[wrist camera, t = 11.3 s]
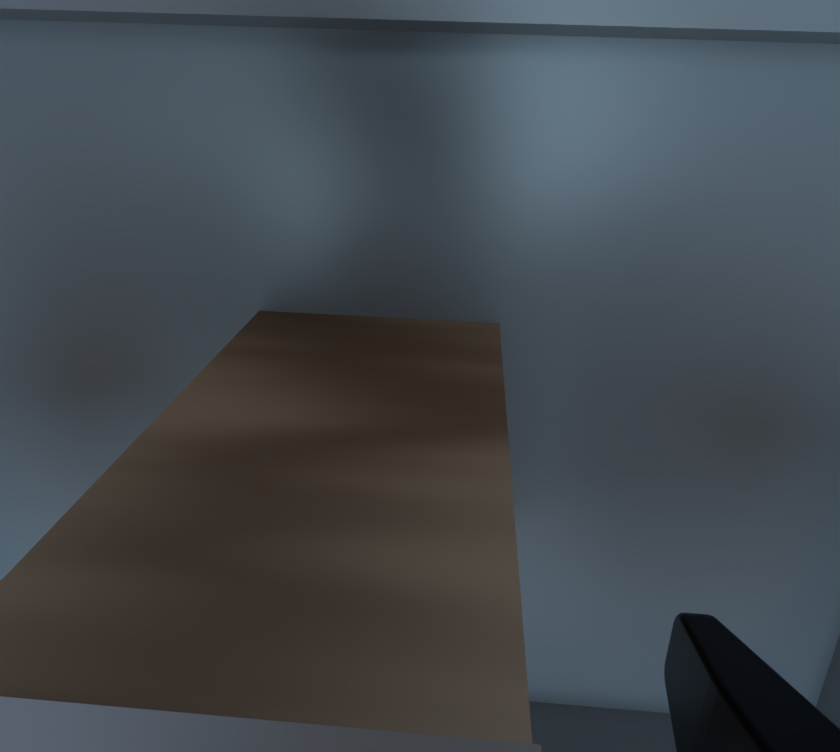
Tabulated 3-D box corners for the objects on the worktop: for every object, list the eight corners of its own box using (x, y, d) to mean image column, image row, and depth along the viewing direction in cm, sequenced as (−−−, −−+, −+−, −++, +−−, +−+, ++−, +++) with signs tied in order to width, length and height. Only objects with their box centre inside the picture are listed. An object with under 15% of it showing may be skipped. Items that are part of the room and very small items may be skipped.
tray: (1100, -20, 11) (1314, -53, 8) (831, 738, 17) (899, 866, 14) (-254, -51, 12) (-471, -90, 9) (-45, 662, 18) (-138, 765, 16)
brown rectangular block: (502, 321, 13) (558, 948, 4) (485, 530, 15) (495, 1312, 5) (256, 307, 13) (-283, 858, 4) (269, 515, 15) (-80, 1235, 6)
